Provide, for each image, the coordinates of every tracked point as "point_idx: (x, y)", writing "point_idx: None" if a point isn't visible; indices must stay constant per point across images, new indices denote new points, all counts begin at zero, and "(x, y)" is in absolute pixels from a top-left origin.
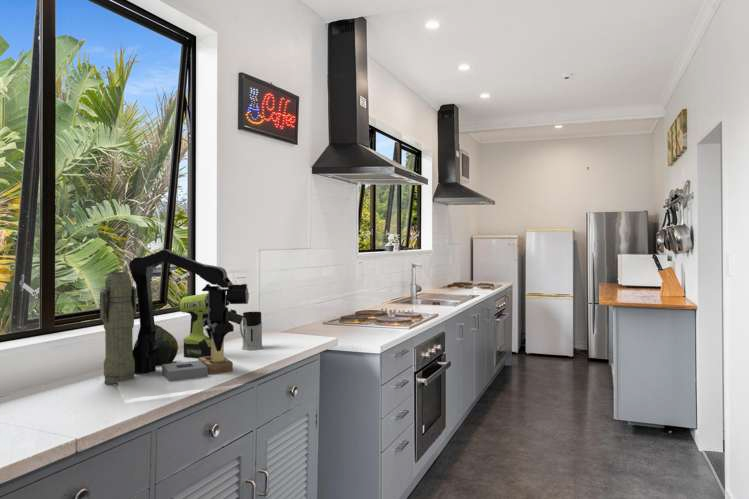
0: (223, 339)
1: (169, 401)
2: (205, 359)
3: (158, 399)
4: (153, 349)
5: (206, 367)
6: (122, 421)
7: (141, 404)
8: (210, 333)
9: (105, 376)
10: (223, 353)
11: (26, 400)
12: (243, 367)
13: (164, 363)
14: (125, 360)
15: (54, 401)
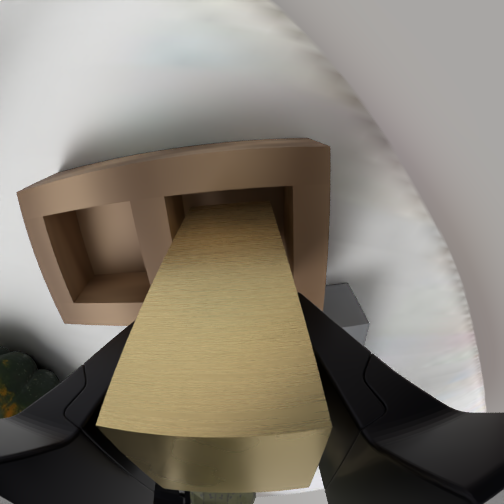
0: (397, 373)
1: (471, 367)
2: (129, 307)
3: (443, 387)
4: (178, 493)
5: (368, 327)
6: (484, 398)
7: (444, 402)
8: (141, 500)
9: None
10: (280, 241)
11: (287, 490)
12: (140, 44)
13: (58, 381)
14: (247, 499)
15: (318, 478)
